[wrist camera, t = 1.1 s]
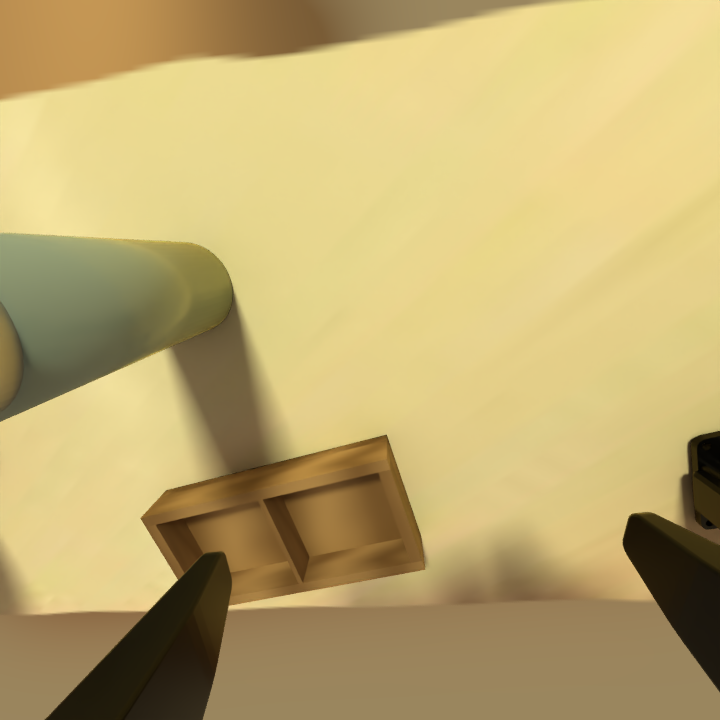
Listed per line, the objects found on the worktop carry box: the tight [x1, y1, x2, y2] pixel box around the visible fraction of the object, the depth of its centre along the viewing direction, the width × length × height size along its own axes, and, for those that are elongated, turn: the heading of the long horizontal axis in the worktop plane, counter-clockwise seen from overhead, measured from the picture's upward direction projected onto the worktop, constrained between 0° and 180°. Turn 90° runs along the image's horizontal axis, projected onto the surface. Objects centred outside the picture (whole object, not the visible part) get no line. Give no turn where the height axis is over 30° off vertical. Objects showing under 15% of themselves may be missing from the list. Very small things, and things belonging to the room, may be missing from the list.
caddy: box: [141, 435, 425, 605], centre depth 22 cm, size 16×8×3 cm, turn 108°
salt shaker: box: [0, 233, 233, 422], centre depth 13 cm, size 5×5×13 cm
